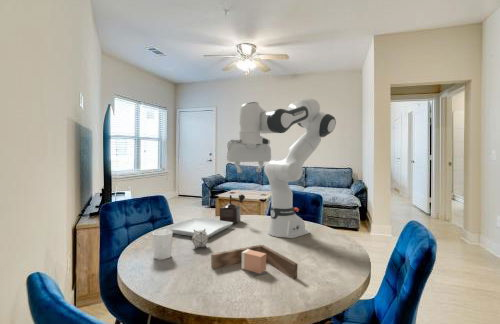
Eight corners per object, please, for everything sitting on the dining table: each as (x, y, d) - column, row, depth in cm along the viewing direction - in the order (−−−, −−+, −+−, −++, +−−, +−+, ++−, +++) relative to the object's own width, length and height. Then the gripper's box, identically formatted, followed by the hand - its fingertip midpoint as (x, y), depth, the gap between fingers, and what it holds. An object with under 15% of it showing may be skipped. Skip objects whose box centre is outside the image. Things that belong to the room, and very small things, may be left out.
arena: (262, 256, 114) (262, 244, 114) (297, 278, 95) (297, 263, 95) (211, 267, 103) (211, 253, 103) (239, 294, 84) (239, 278, 83)
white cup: (176, 254, 115) (176, 230, 115) (164, 261, 108) (164, 236, 108) (160, 252, 118) (160, 228, 118) (148, 258, 110) (148, 233, 110)
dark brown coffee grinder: (218, 223, 165) (218, 193, 164) (225, 219, 176) (225, 191, 175) (243, 226, 161) (243, 195, 160) (248, 221, 171) (249, 192, 171)
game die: (202, 257, 123) (204, 243, 117) (185, 248, 124) (187, 235, 118) (211, 242, 130) (214, 228, 124) (195, 234, 131) (197, 220, 125)
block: (266, 269, 100) (266, 253, 100) (260, 274, 97) (260, 256, 97) (247, 264, 105) (247, 249, 104) (241, 268, 101) (241, 252, 101)
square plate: (234, 228, 157) (234, 221, 157) (207, 242, 132) (207, 234, 132) (194, 222, 168) (194, 216, 168) (162, 234, 143) (162, 227, 143)
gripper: (230, 139, 111) (230, 173, 111) (273, 140, 121) (272, 172, 121) (224, 139, 116) (224, 172, 117) (265, 141, 126) (265, 171, 127)
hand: (249, 172), depth 119 cm, fingers open, 8 cm apart
